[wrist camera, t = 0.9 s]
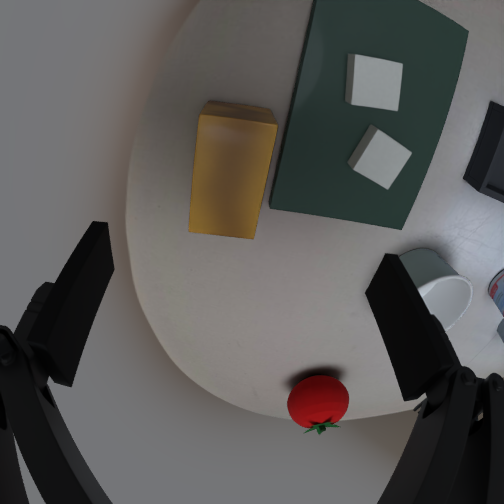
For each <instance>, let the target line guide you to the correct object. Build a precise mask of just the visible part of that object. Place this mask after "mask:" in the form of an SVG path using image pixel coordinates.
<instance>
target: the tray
mask: <svg viewBox="0 0 504 504" xmlns="http://www.w3.org/2000/svg"><path fill="white" fill-rule="evenodd" d="M463 179H464V180H465V181H467V182H468V183H469V184H470V185H471V186H472V187H474V188H475V189H476V190H477V191H478V192H480V193H482V194H485V195H487V196H489V197H492V198H494V199H496V200H499V201H501V202H503V203H504V106H502V105H499V104H497V103H494V102H492V101H491V102H490V105H489V108H488V112H487V115H486V118H485V121H484V124H483V127H482V130H481V133H480V136H479V139H478V142H477V144H476V147H475V150H474V152H473V155H472V158H471V160H470V163H469V165H468V168H467V170H466V173H465V175H464V177H463Z"/></svg>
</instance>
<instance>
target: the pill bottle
mask: <svg viewBox="0 0 504 504" xmlns="http://www.w3.org/2000/svg"><path fill="white" fill-rule="evenodd" d="M489 294H490V296H491V297H492V299H493V301H494V302H495V304H496V305H497V307H498V308H499V310H500V312H501V313H502V315H503V317H504V270H503V271H502V272H501V273H499V274H498V275H497V276H496V277H495V278H494V280H493V281H492V282H491V284H490V287H489Z"/></svg>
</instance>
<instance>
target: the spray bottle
mask: <svg viewBox="0 0 504 504" xmlns="http://www.w3.org/2000/svg"><path fill="white" fill-rule="evenodd" d="M497 331H498V333H499V335H500V337H501V339H502V341H503V342H504V319H503V320H502V322H501V323H500V324H499V326H498V329H497Z"/></svg>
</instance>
